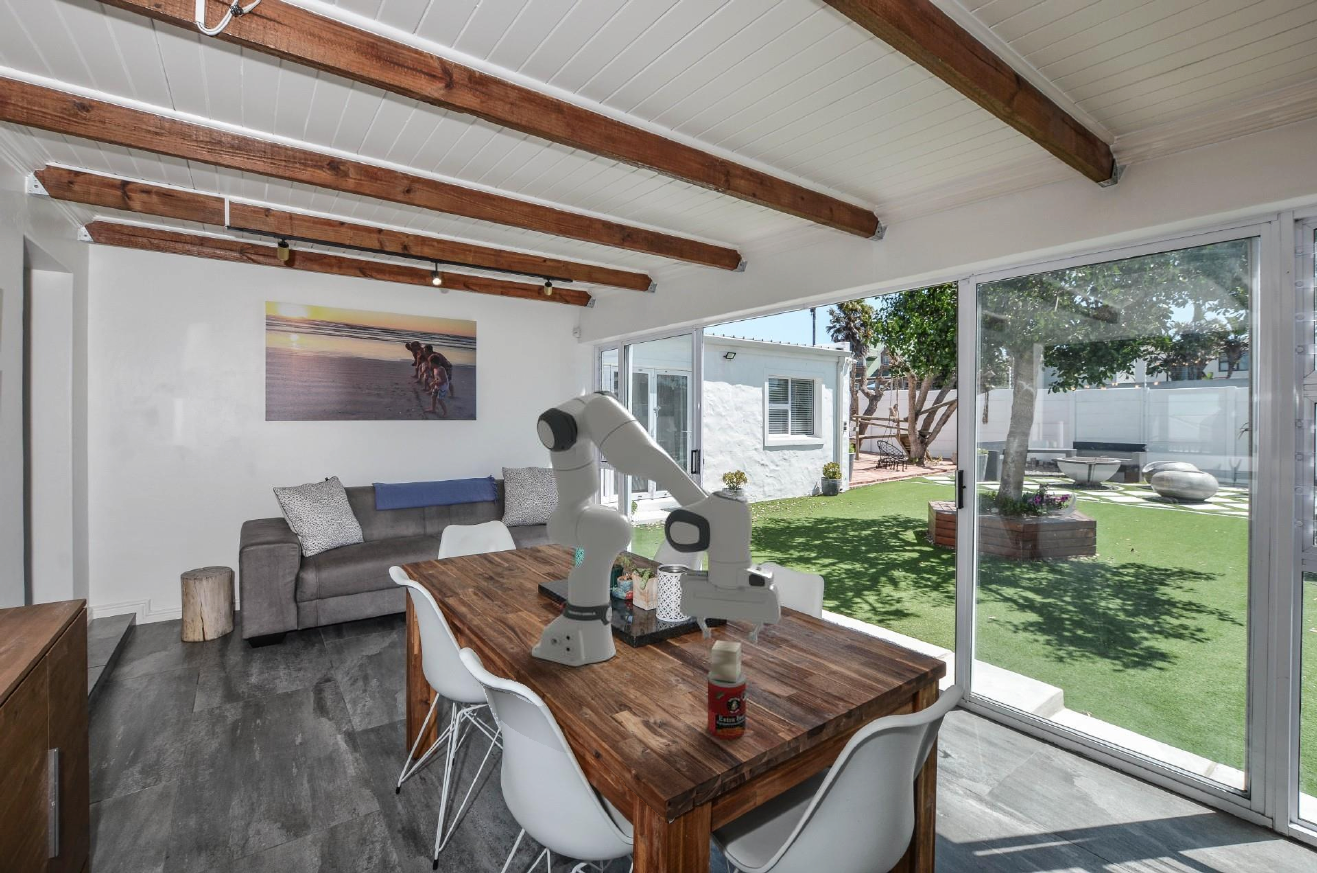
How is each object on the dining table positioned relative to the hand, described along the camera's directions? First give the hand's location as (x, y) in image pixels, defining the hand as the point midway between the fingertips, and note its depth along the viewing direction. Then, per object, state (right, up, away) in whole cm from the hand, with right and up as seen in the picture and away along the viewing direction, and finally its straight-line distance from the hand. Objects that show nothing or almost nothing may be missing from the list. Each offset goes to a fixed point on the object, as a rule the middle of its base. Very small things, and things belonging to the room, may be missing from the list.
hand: (729, 640), depth 120 cm
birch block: (-1, -7, -1) cm, 7 cm away
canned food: (-1, -18, 0) cm, 18 cm away
